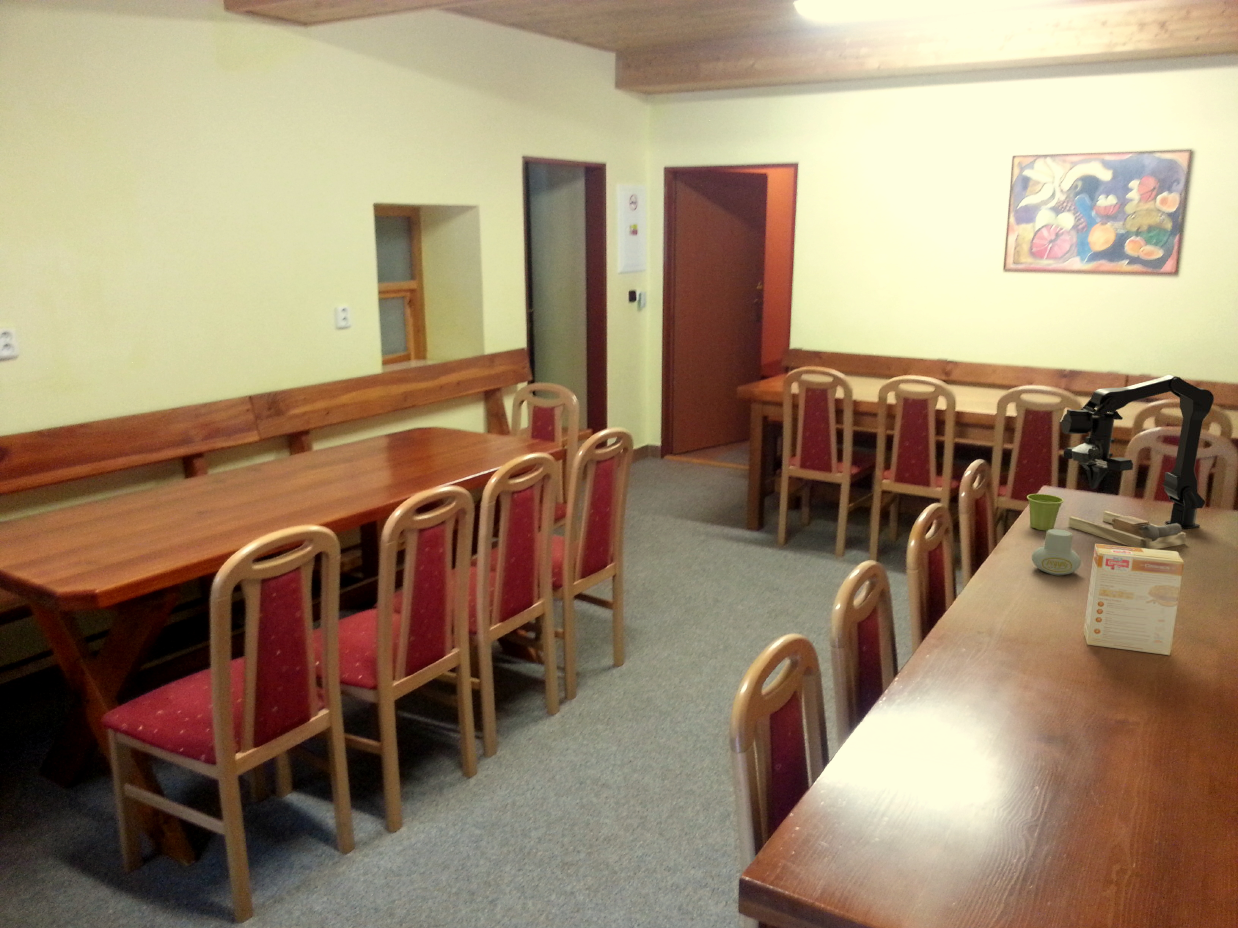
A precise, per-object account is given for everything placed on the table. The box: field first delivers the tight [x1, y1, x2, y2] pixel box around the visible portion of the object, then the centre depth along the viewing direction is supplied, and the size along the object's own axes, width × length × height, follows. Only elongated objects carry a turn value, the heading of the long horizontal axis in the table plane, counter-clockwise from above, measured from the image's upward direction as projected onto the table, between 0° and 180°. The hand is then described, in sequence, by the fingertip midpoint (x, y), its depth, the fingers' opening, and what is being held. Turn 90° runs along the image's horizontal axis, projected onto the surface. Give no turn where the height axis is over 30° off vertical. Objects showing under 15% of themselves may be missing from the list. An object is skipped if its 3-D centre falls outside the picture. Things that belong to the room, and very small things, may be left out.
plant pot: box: [1026, 493, 1065, 532], centre depth 269 cm, size 9×9×9 cm
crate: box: [1112, 515, 1151, 538], centre depth 262 cm, size 6×7×5 cm
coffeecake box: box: [1083, 543, 1185, 656], centre depth 190 cm, size 15×7×20 cm, turn 71°
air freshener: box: [1031, 528, 1082, 576], centre depth 233 cm, size 11×8×10 cm
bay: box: [1067, 510, 1187, 550], centre depth 263 cm, size 16×25×7 cm, turn 25°
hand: (1093, 488), depth 272 cm, fingers closed
